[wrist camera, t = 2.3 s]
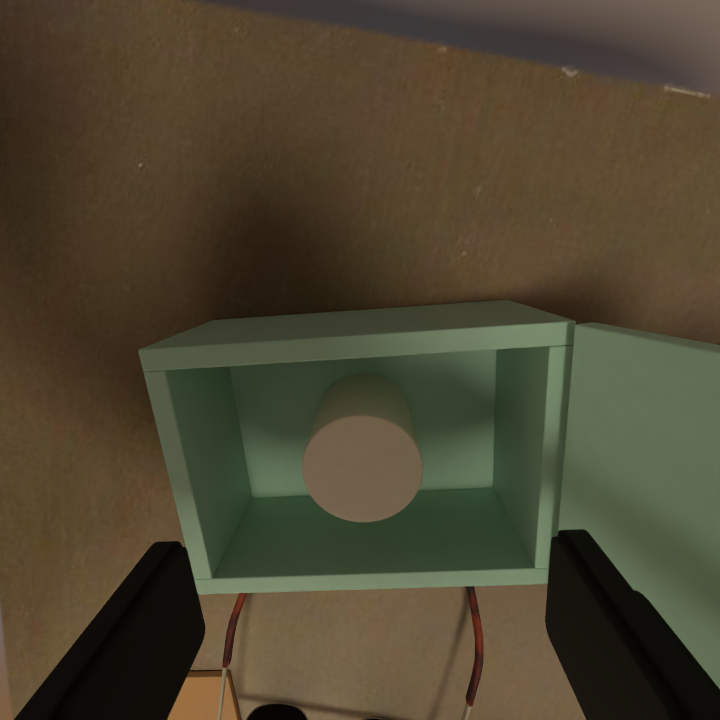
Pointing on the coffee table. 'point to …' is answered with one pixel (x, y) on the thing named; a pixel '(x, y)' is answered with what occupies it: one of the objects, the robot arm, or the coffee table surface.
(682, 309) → the coffee table surface
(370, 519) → the cylinder
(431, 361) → the green open box
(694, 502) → the green box lid
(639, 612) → the robot arm
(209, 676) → the mat
